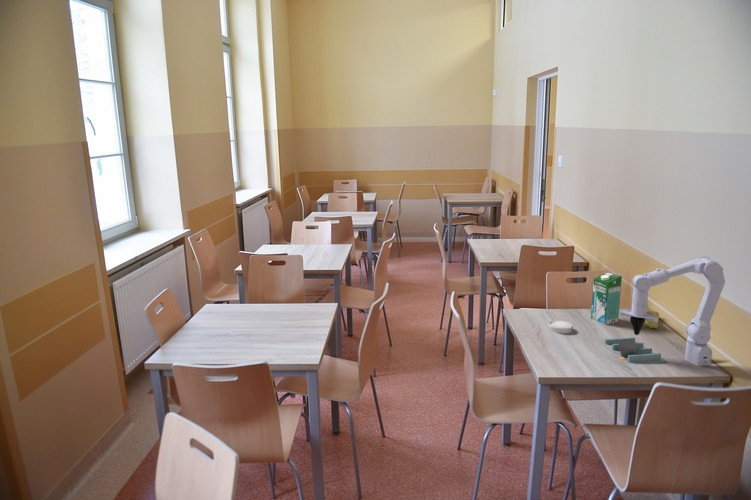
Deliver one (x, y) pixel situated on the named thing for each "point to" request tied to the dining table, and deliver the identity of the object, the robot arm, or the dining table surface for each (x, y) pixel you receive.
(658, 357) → the slot rack
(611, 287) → the milk carton
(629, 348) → the panel
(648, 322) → the plastic component
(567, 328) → the ramekin
